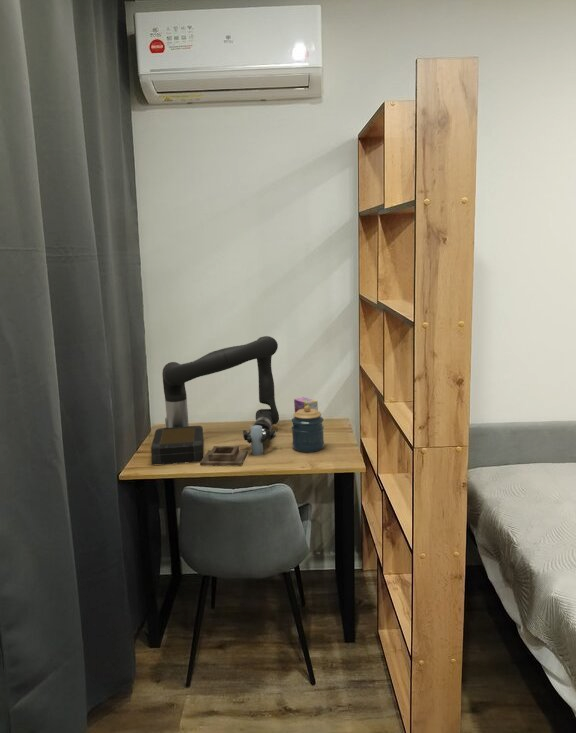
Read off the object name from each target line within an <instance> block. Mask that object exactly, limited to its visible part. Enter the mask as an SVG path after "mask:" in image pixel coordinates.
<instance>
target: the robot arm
mask: <svg viewBox="0 0 576 733" xmlns="http://www.w3.org/2000/svg"><path fill="white" fill-rule="evenodd" d="M278 345H279V344H278V342H277V340H276V339H275V338H274V337H272V336H268V335H266V336H260V337H258V338H257V339H256V340H253V341H252V342H249V343H245V344H241V345H234V346H229V347H228V346H227V347H223V348H220V349H217V350H214V351H213V350H212V351H211V352H208V353H207V354H204V355H203V356H201V357H199V358H198V359H196V360H193V361H189V362H185V363H178V362H176V361H170V362H168V363H167V364H165V365H164V366H163V368H162V384H163V385H162V386H163V387H162V388H163V394H164V402H165V404H164V405H165V414H166V417H165V418H164V421H165V428H172V427H186V426H190V424H189V411H188V398H187V397H188V395H187V390H186V385H185V384H186V383H187V382H189V381H192V380H194V379H196V378H200V377H204V376H208V375H213V374H216V373H219V372H222V371H226V370H229V369H233V368H235V367H238V366H240V365H242V364H244V363H246V362H249V361H253V360H256V362H257V371H258V374H257V375H258V401H259V403H260V404H263V405H267V406H268V407H269V408H260V409H257V411H256V412H255V421H254V423H253V425H252V426H254V425H260V426H262V438H261V443H263V444H264V443H266V441H267V440H268V441H271V440H273V439H274V438H276V436H277V434H276V433H277V432H276V430H274V429H273V430H272V427H273V425H277V424H278V423H279V420H280V414H279V410H278V407H277V405H276V401H275V400H276V397H275V396H276V394H275V382H274V377H273V376H274V375H273V370H272V357H273V356H274V355H275V354H276V352H277V351H278V349H279V348H278ZM242 436H243V440H244V441H246V442H247V443H248V444H251V429H250V430H249V431H247V430H246V429H245V430H242Z"/></svg>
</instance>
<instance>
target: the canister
mask: <svg viewBox="0 0 576 733" xmlns="http://www.w3.org/2000/svg"><path fill="white" fill-rule="evenodd" d="M324 421H325V420H324V418H323V417H322V413H321V411H319V410H318V411H317V410H316V409H310V406H305V407H304V409H300V410H298V411H297V412H295V411H294V413H293V418H291V422H292V427H291V431H292V443H291V444H292V447H293V448H292V449H294V450H295V451H298V452H300V453H314V452H319V451H321V450H323V449H324V446H325V439H324V428H325V427H324V425H323V422H324Z"/></svg>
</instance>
